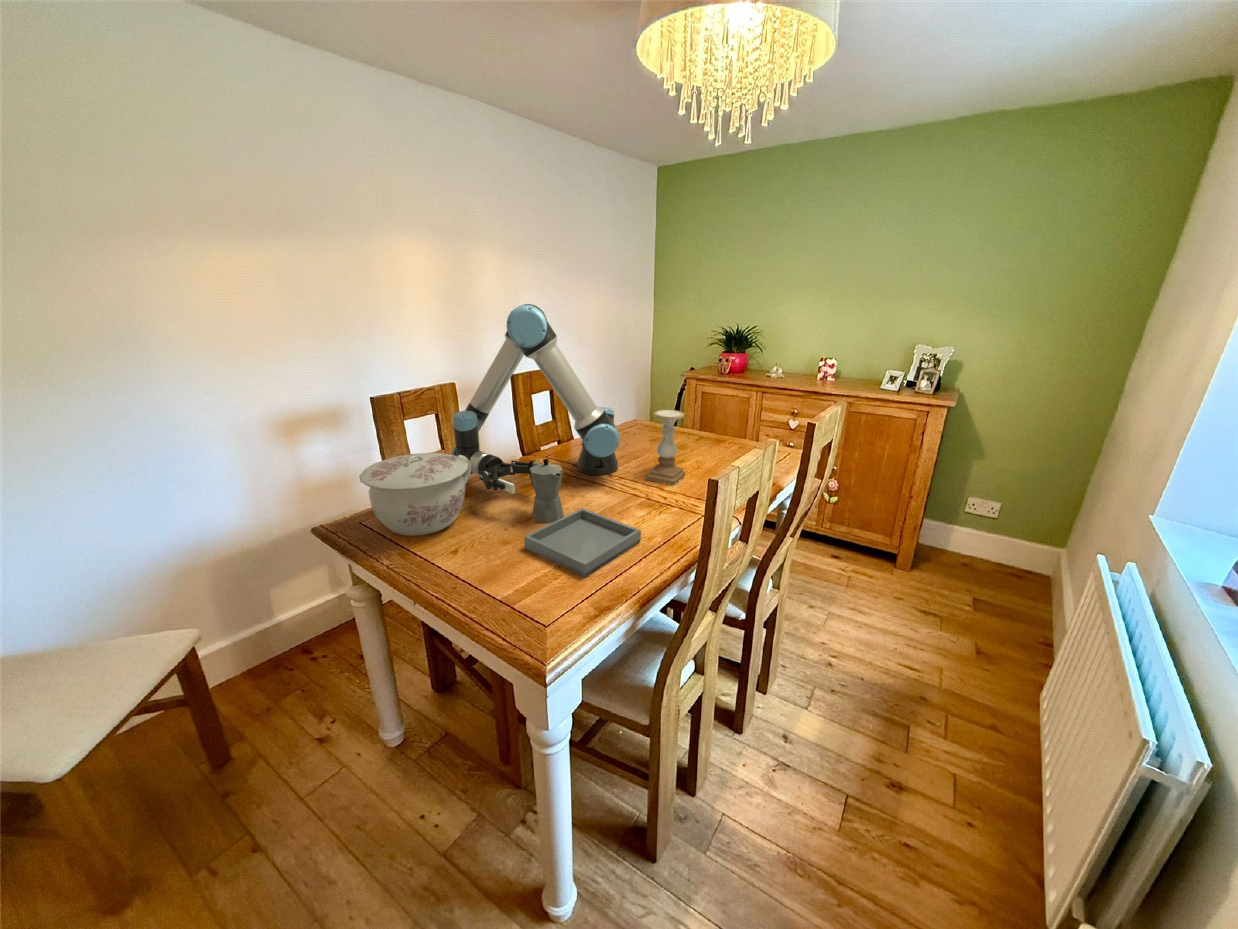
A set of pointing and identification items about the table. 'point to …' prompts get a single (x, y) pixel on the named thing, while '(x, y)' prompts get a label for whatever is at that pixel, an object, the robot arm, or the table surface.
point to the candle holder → (667, 451)
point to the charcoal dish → (582, 541)
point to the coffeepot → (546, 491)
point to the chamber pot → (417, 491)
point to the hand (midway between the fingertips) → (532, 482)
